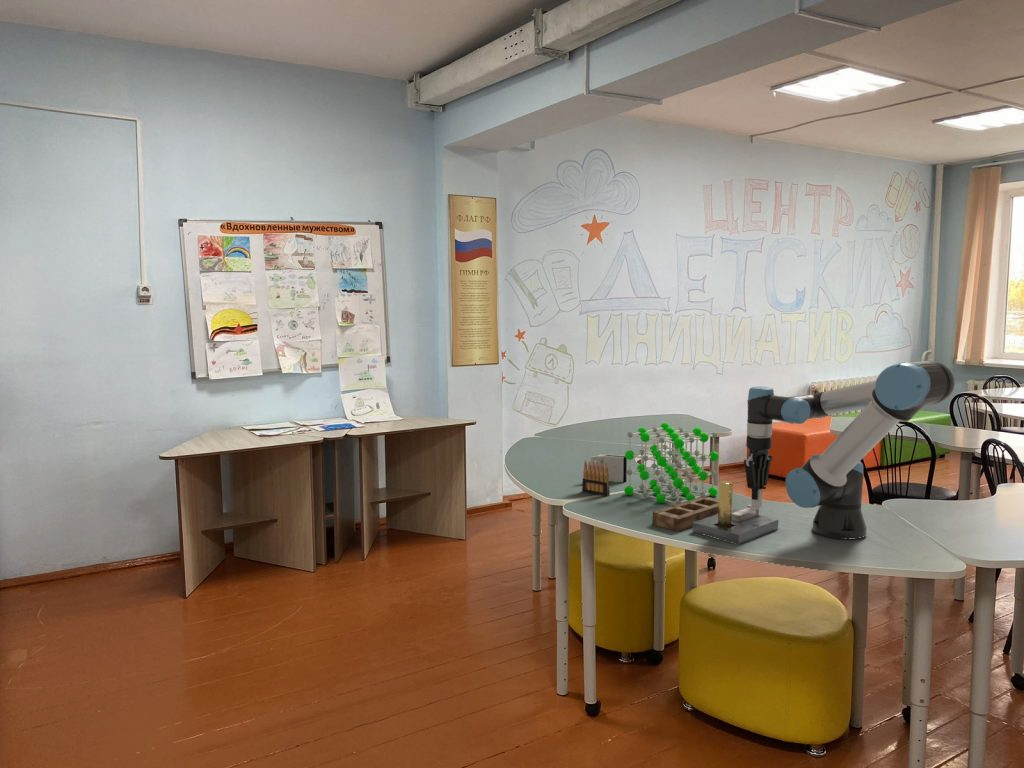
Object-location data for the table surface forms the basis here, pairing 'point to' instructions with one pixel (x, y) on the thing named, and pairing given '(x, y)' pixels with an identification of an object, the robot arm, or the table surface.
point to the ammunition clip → (595, 479)
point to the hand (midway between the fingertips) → (756, 508)
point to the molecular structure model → (670, 467)
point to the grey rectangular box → (613, 466)
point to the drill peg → (725, 504)
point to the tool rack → (685, 513)
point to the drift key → (746, 513)
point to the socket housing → (736, 528)
